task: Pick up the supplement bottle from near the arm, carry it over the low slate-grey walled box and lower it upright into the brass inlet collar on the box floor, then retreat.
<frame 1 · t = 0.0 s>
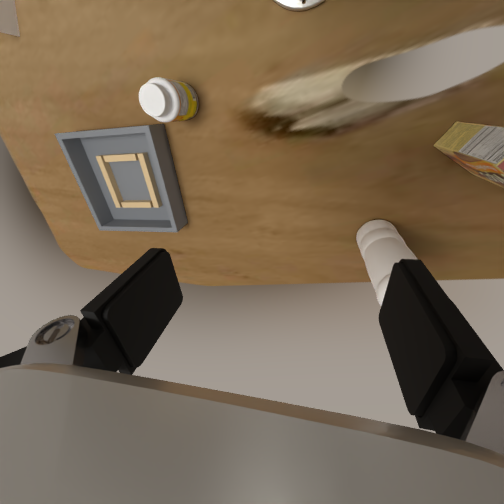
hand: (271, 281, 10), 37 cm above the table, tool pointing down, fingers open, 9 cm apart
walled box: (135, 179, 50), on the table
candy box: (463, 149, 36), on the table
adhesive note: (1, 6, 39), on the table
water bottle: (374, 234, 46), on the table
supplement bottle: (185, 101, 40), on the table
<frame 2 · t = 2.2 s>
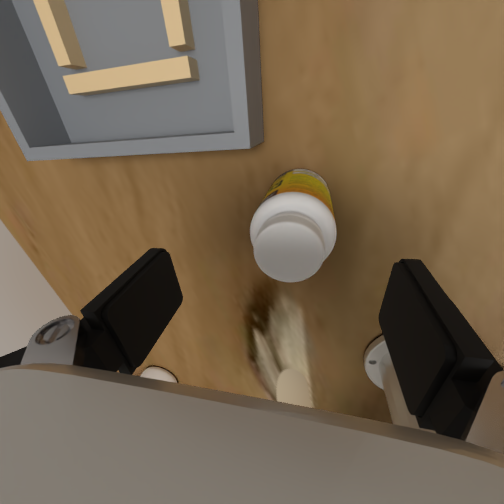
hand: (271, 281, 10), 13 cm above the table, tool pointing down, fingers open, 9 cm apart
water bottle: (162, 375, 45), on the table
supplement bottle: (298, 198, 21), on the table
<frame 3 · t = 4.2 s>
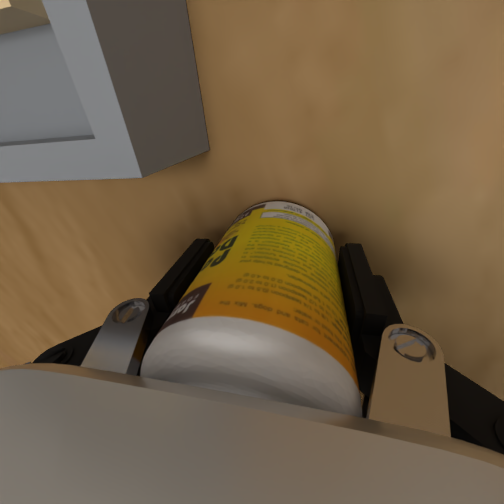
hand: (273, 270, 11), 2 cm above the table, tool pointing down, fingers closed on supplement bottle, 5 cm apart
supplement bottle: (279, 246, 12), on the table, touching gripper
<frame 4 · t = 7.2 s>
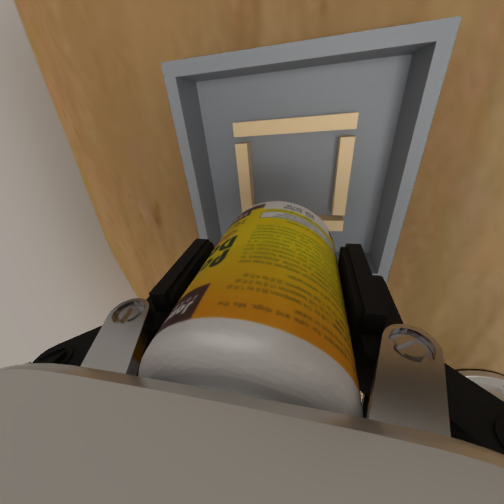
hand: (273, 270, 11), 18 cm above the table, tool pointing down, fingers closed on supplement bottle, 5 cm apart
walled box: (292, 174, 25), on the table
supplement bottle: (278, 246, 12), point 15 cm above the table, touching gripper
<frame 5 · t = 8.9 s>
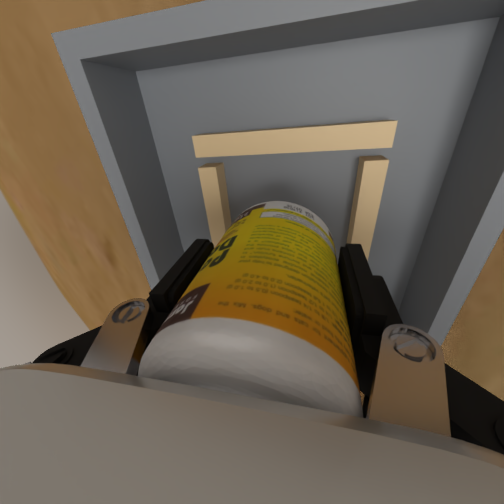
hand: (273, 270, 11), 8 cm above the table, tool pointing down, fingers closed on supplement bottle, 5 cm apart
walled box: (288, 208, 17), on the table
supplement bottle: (278, 246, 12), point 6 cm above the table, touching gripper
when the fingers open (5 cm above the table, at t = 10.4 s): supplement bottle drops 2 cm, resting on walled box.
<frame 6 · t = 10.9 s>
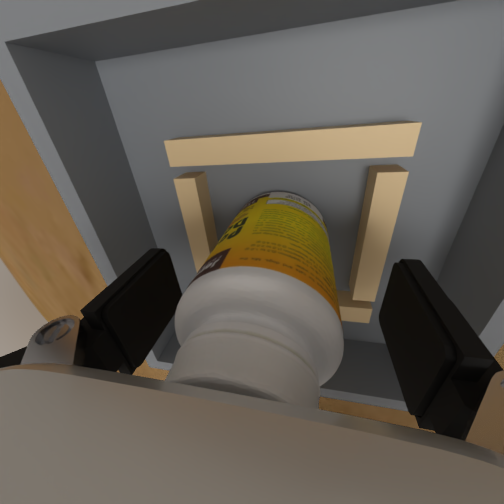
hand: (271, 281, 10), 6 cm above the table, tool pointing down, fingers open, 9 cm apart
walled box: (283, 224, 15), on the table
supplement bottle: (279, 232, 14), point 1 cm above the table, touching walled box
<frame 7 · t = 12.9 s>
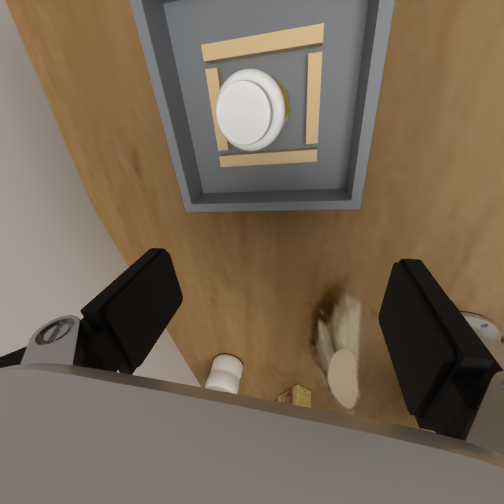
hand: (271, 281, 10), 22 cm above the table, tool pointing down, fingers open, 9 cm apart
walled box: (266, 107, 25), on the table
candy box: (293, 392, 57), on the table
water bottle: (229, 361, 54), on the table
supplement bottle: (264, 109, 25), point 1 cm above the table, touching walled box
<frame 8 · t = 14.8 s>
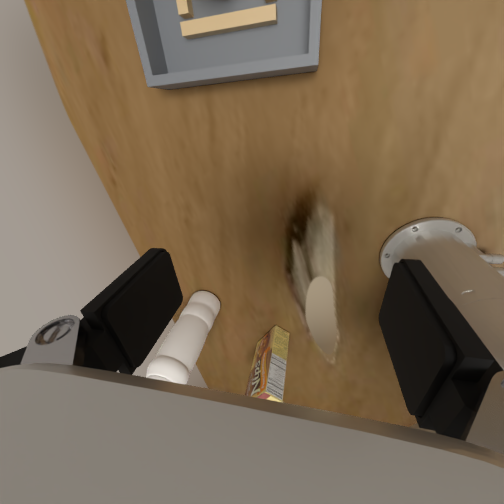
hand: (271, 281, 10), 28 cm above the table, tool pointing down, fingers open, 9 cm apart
candy box: (272, 336, 55), on the table
water bottle: (207, 300, 53), on the table
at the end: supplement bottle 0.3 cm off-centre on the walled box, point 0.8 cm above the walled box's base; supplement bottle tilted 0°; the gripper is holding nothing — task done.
